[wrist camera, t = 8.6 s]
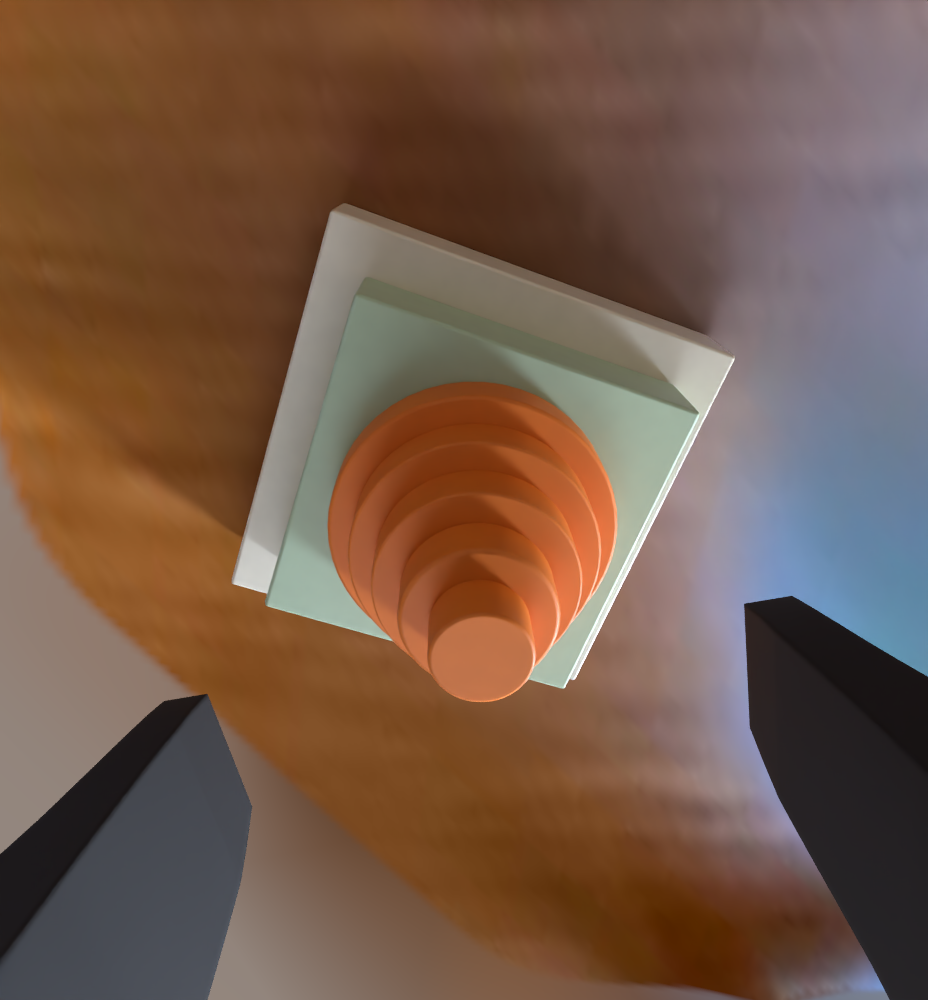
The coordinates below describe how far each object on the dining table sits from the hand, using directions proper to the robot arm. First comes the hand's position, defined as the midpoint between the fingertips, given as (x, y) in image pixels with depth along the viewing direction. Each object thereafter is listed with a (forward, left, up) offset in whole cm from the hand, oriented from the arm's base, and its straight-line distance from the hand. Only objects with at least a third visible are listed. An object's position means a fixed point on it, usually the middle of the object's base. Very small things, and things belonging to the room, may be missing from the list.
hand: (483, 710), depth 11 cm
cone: (0, 0, -6) cm, 6 cm away
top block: (0, 0, -8) cm, 8 cm away
